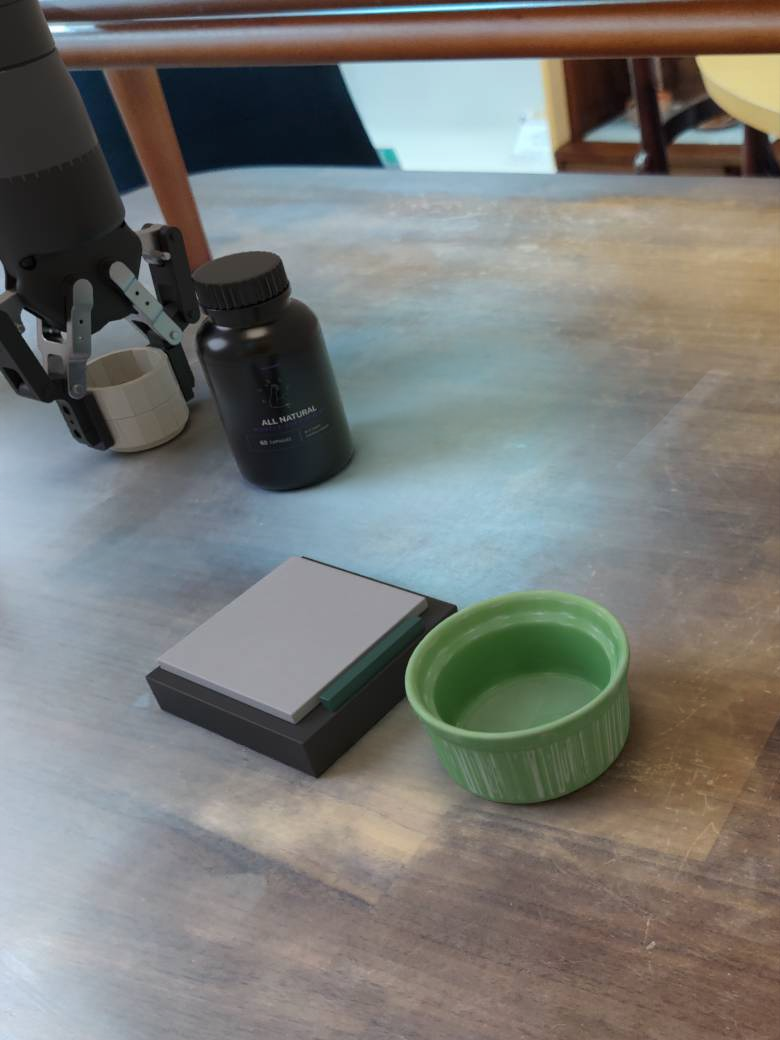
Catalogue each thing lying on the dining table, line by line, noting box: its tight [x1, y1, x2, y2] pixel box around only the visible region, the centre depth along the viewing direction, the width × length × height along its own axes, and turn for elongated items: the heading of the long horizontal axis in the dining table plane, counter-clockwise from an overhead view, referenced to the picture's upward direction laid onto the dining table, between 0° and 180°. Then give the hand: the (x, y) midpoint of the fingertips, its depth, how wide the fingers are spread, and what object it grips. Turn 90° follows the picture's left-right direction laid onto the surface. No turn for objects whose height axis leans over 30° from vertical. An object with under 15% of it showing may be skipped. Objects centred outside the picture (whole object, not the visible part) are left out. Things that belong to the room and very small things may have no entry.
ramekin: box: [405, 589, 631, 805], centre depth 49 cm, size 9×9×4 cm
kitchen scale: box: [144, 555, 459, 778], centre depth 54 cm, size 10×10×3 cm
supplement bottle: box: [191, 250, 354, 491], centre depth 67 cm, size 7×7×12 cm
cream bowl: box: [87, 346, 190, 453], centre depth 75 cm, size 6×6×4 cm
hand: (142, 421), depth 76 cm, fingers closed on cream bowl, 6 cm apart
